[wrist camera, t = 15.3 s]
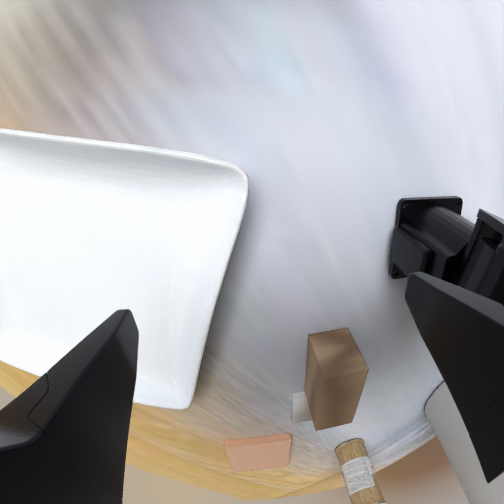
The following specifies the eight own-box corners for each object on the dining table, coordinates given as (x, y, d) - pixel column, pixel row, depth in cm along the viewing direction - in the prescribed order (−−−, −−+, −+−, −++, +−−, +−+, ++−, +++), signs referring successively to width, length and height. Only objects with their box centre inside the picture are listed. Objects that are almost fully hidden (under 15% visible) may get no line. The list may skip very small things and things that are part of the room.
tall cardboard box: (360, 324, 25) (383, 364, 20) (341, 407, 31) (354, 441, 26) (293, 336, 25) (307, 382, 20) (291, 417, 30) (299, 454, 26)
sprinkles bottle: (360, 446, 38) (386, 517, 26) (332, 454, 37) (354, 528, 25) (365, 434, 35) (394, 510, 23) (334, 443, 35) (360, 523, 23)
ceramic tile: (291, 439, 31) (288, 465, 35) (289, 429, 32) (286, 457, 37) (224, 447, 31) (231, 472, 35) (223, 437, 32) (231, 463, 36)
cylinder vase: (449, 363, 31) (537, 512, 8) (499, 350, 33) (577, 463, 10) (409, 420, 36) (466, 549, 14) (461, 403, 38) (519, 508, 16)
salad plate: (191, 387, 27) (190, 416, 24) (-2, 335, 22) (-15, 357, 19) (251, 158, 18) (258, 168, 15) (-22, 119, 14) (-51, 125, 11)
